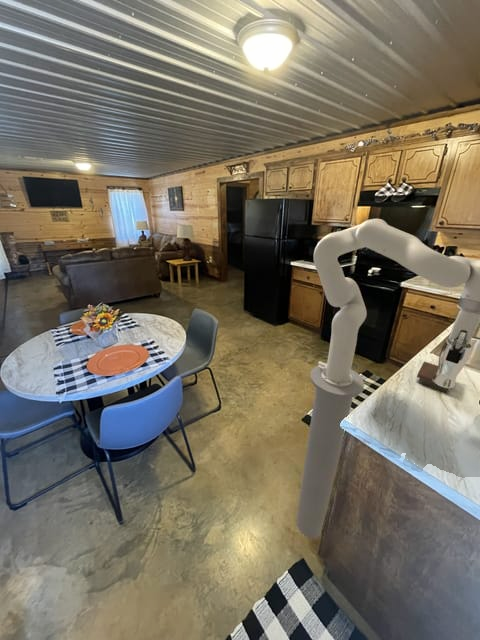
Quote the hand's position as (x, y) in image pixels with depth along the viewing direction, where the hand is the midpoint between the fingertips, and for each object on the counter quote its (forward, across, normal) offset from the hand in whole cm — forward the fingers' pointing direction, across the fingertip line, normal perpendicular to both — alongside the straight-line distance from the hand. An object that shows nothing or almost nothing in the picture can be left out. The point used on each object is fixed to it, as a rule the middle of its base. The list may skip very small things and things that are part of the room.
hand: (453, 356), depth 83 cm
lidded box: (+25, -25, -3) cm, 35 cm away
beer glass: (+10, 0, 0) cm, 10 cm away
